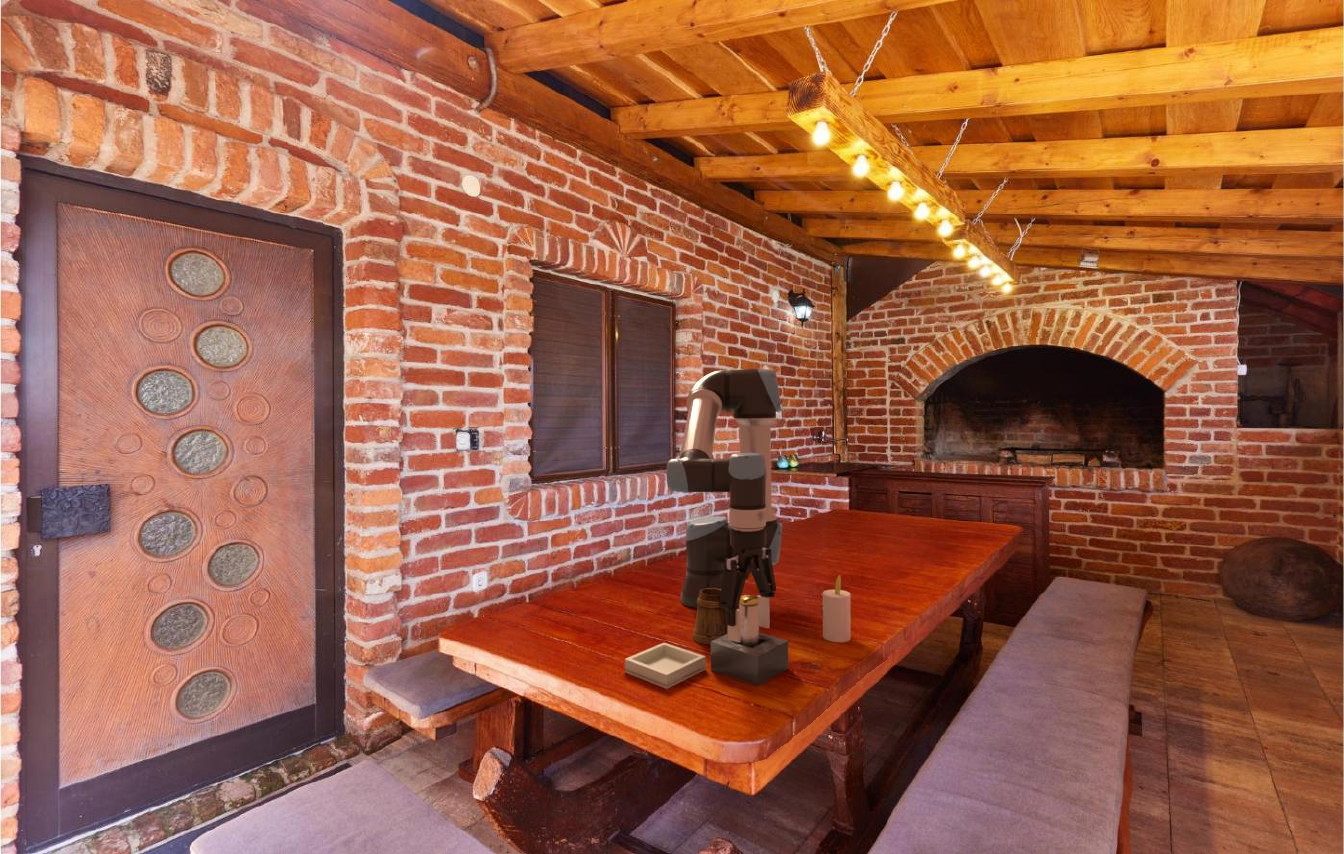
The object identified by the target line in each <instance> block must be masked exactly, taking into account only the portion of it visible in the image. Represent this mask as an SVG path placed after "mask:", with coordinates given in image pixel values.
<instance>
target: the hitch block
mask: <svg viewBox="0 0 1344 854" xmlns="http://www.w3.org/2000/svg"><path fill="white" fill-rule="evenodd" d="M788 669H789V640H787V639H785V638H779V637H776V636H773V635H769V634H768V633H767V634H765V633H762V632H759V645H758V646H756V647H754V648H750V647H747V646H744V645H740V642H739V643H738V642H735V641H732V640H728V634H727V635H724V636H722V637H720V638H718V639H716V640H713V641H711V644H710V670H711V671H713V672H716V673H718V674H721V675H724V676H727V677H730V678H733V679H736V680H739V681H742V682H744V683H747V684H750V685H753V686H756V687H760V686H762V685H763V684H765V683H766V682H768V681H770V680H772V679H773V678H775V677H776V676H779V675H780V674H782V673H783V672H785V671H787V670H788Z"/></svg>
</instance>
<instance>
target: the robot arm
mask: <svg viewBox="0 0 1344 854" xmlns="http://www.w3.org/2000/svg"><path fill="white" fill-rule="evenodd" d="M778 382H779V381H778V377H777V373H776V372H775V371H774V370H773V369H766V368H753V369H752V368H750V369H719V370H716V371H712V372H710V373H708V374H706V375H705V376H702V378H700V380H698V381H697V382H696V383H695V384H694V385H693V386H692V387H691V389H690V391H689V393H688V395H687V399H686V405H685V406H686V410H687V412H688V414H687V418H686V422H685V423H686V424H685V427H684V432H683V438H682V442H681V448H680V451H679V452H680V453H679V456H678V457H677V458H672V459H669V460H668V462H667V464H666V471H665V472H666V476H665V477H666V485H667V488H668V490H669V491H671V492H678V493H681V492H682V493H685V494H686V493H729V521H728V518H727V517H726V516H720V515H719V516H717V515H716V516H708V517H707V516H706V517H701V518H696V519H694V520H692V521H690V522H688V524H687V525H686V528H685V537H684V538H685V539H684V541H685V547H686V548H685V549H686V552H685V555H686V557H685V558H686V575H685V576H684V577H685V578H684V581H683V585H682V588H681V591H680V602H681V604H683V605H684V606H687V607H690V608H695V609H697V608H698V604H697V599H698V597H699V592H700V590H702V589H706V588H717V589H721V595H720V602H719V607H720V608H724V609H726V611H727V625H728V640H732V641H735V642H738V643H739V642H741V626H740V610H739V601H740V598H741V596H742V594H743V590H744V588H745V583H746V580H748V579H749V577H750V574H751V575H752V578H753V580H754V583H755V585H756V588H757V591H758V593H759V594H758V595H756V596H757V597H758V601H759V628H760V627H761V628H764V629H770V628H771V627H770V624H771V623H770V622H771V619H770V610H771V609H770V608H771V603H770V602H771V598H774V597H775V595H776V593H775V592H777V584H776V579H775V574H774V573H775V572H774V568H773V566H775V565H776V564H778V562H779V559H780V553H781V545H782V534H783V524H782V523H781V522H780V521H779V522H778V516H777V515H776V514H775V513H774V512H773V511H772V449H771V448H772V447H771V446H772V445H771V444H772V443H771V441H772V440H771V439H772V436H771V434H772V433H771V432H772V431H771V425H772V423H773V422H774V421H775V420H777V413H779V412H781V411H782V405H781V397H780V390H779V384H778ZM721 413H733V420H734V421H735V422H736V423H737V424H738V437H739V440H738V441H739V442H738V443H739V446H738V447H739V452H738V453H732V454H731V455H729V458H713V453H714V452H713V450H714V443H715V435H716V427H717V420H718V417H719V416H720V414H721ZM739 571H740V573H739Z"/></svg>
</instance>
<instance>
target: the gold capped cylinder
mask: <svg viewBox="0 0 1344 854" xmlns="http://www.w3.org/2000/svg"><path fill="white" fill-rule="evenodd" d="M757 596H758V595H753V594H743V595H741V598H740V601H739V605H738V609H739V610H740V626H741V642H740V645H744V646H747V647H750V648H754V647H756V646H758V645H759V633H760V626H759V601H758V597H757Z"/></svg>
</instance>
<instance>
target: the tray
mask: <svg viewBox="0 0 1344 854" xmlns="http://www.w3.org/2000/svg"><path fill="white" fill-rule="evenodd" d="M706 658H707V657H706V656H705V655H703V654H700V653H696V652H694V651H690V650H688V649H684V648H682V647H679V646H676V645H673V644H669V643H666V642H662V643H660V644H657V645H655V646H653V647H649V648H648V649H645V650H643V651H640V652H638V653H636V654H633V655H631V656H629V657H626V658H624V672H625V674H629V675H631V676H634V677H636V678H639V679H640V680H641V679H642V680H643V681H645V682H649V683H650V684H653V685H656V686H659V687H661V688H664V689H665V690H668V689H670V688H672V687H674V686H676V685H677V684H680V683H682V682H683V681H684V682H685V681H686V680H688V679H690V678H692V677H694V676H697V675H698V674H700V673H701V672H704V671H705V670H707V668H706V665H707V664H706V663H707V662H706V661H707V660H706Z"/></svg>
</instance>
